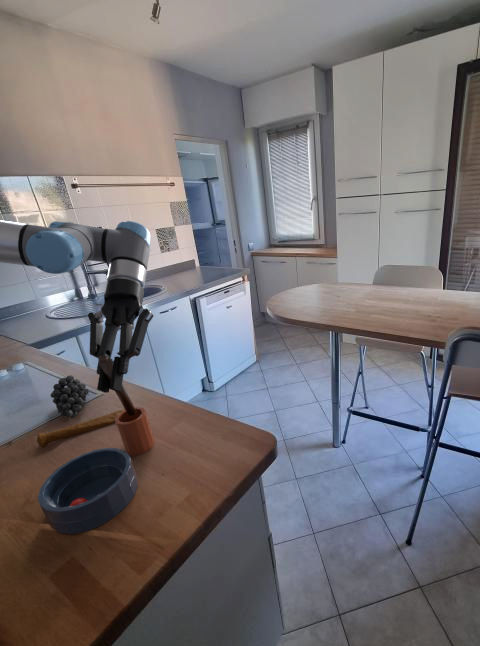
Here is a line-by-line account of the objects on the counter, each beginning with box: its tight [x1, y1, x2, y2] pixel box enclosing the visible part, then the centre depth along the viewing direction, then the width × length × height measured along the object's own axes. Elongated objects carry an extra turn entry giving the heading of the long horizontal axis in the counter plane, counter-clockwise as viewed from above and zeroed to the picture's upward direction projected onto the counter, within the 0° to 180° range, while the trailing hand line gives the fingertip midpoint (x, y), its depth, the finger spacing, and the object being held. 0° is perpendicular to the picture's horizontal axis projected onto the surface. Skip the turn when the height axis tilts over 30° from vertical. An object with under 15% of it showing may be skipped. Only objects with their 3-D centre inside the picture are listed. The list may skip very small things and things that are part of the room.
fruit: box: [50, 374, 90, 419], centre depth 90 cm, size 9×8×15 cm
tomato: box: [69, 498, 87, 507], centre depth 59 cm, size 3×3×3 cm
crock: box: [114, 406, 155, 456], centre depth 74 cm, size 6×6×9 cm
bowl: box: [37, 447, 139, 535], centre depth 62 cm, size 15×15×6 cm
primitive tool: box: [36, 409, 125, 449], centre depth 82 cm, size 19×6×4 cm, turn 127°
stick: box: [97, 355, 136, 416], centre depth 68 cm, size 2×2×17 cm
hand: (109, 390), depth 65 cm, fingers closed on stick, 2 cm apart
